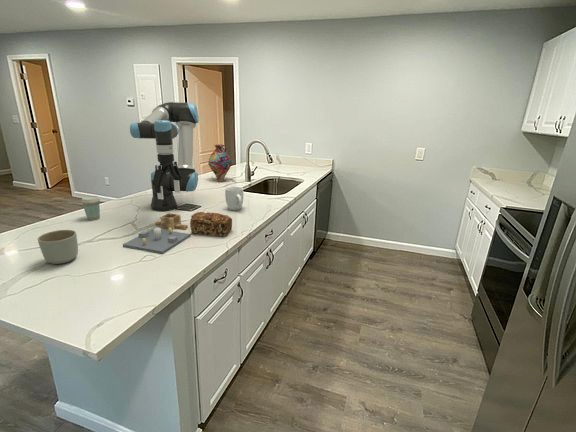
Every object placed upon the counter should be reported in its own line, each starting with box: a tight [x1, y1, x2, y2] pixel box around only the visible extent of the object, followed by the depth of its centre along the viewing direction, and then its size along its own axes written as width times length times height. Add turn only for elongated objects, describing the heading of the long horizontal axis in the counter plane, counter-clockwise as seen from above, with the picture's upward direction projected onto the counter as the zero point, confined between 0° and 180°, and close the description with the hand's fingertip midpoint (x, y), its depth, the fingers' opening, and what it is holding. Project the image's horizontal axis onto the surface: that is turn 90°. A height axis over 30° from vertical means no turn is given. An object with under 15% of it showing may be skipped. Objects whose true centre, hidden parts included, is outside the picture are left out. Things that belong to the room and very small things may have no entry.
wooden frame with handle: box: [154, 212, 188, 231], centre depth 165 cm, size 18×7×6 cm, turn 73°
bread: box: [189, 211, 233, 237], centre depth 160 cm, size 19×11×10 cm, turn 80°
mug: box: [224, 186, 244, 211], centre depth 194 cm, size 15×11×13 cm
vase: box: [207, 144, 233, 183], centre depth 262 cm, size 19×19×30 cm
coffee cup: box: [81, 195, 101, 221], centre depth 172 cm, size 8×8×12 cm
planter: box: [37, 229, 79, 265], centre depth 126 cm, size 12×12×11 cm
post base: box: [122, 227, 191, 255], centre depth 147 cm, size 21×21×6 cm
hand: (169, 195), depth 161 cm, fingers open, 13 cm apart
